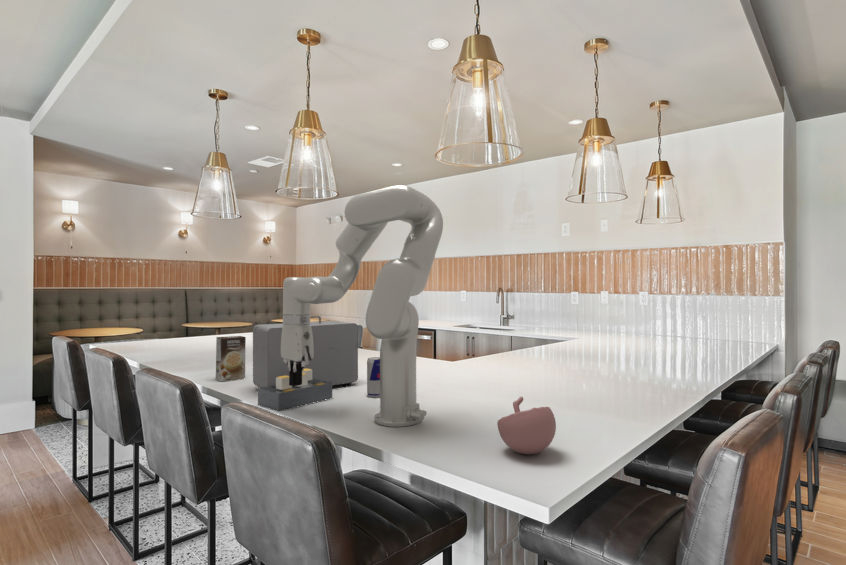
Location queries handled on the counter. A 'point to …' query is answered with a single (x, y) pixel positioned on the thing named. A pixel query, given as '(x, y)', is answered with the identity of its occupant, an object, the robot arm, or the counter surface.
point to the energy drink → (373, 377)
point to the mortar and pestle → (528, 429)
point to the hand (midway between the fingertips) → (295, 384)
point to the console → (294, 395)
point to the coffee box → (230, 358)
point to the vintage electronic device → (330, 353)
